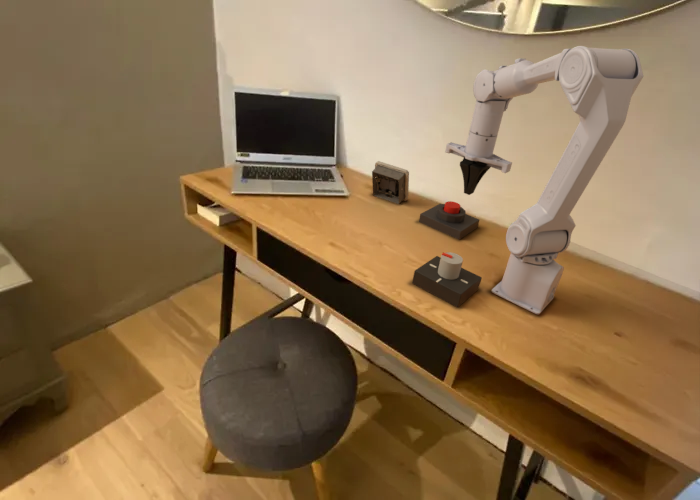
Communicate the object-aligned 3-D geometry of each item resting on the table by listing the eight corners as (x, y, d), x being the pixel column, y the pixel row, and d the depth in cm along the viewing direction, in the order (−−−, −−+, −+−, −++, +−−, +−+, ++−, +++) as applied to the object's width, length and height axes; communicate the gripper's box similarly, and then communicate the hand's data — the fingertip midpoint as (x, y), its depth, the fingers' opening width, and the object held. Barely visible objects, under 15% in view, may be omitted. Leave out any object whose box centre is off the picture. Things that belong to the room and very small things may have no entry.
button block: (477, 227, 113) (481, 212, 111) (458, 239, 107) (462, 224, 105) (438, 211, 119) (441, 196, 117) (418, 221, 113) (421, 206, 110)
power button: (461, 211, 111) (463, 205, 110) (454, 216, 109) (455, 209, 108) (448, 206, 113) (450, 199, 112) (440, 210, 111) (442, 204, 110)
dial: (462, 272, 89) (466, 255, 87) (454, 282, 86) (458, 265, 84) (442, 265, 91) (446, 248, 89) (434, 274, 88) (438, 257, 86)
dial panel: (478, 289, 90) (482, 276, 89) (457, 308, 85) (460, 293, 83) (434, 267, 96) (437, 254, 94) (411, 283, 90) (414, 269, 89)
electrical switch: (408, 200, 122) (412, 168, 117) (398, 209, 119) (402, 175, 113) (377, 190, 126) (379, 158, 121) (367, 197, 123) (369, 165, 117)
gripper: (443, 125, 98) (431, 186, 105) (507, 146, 90) (489, 209, 97) (460, 120, 103) (447, 178, 110) (522, 139, 95) (505, 200, 102)
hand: (468, 192), depth 104 cm, fingers closed
